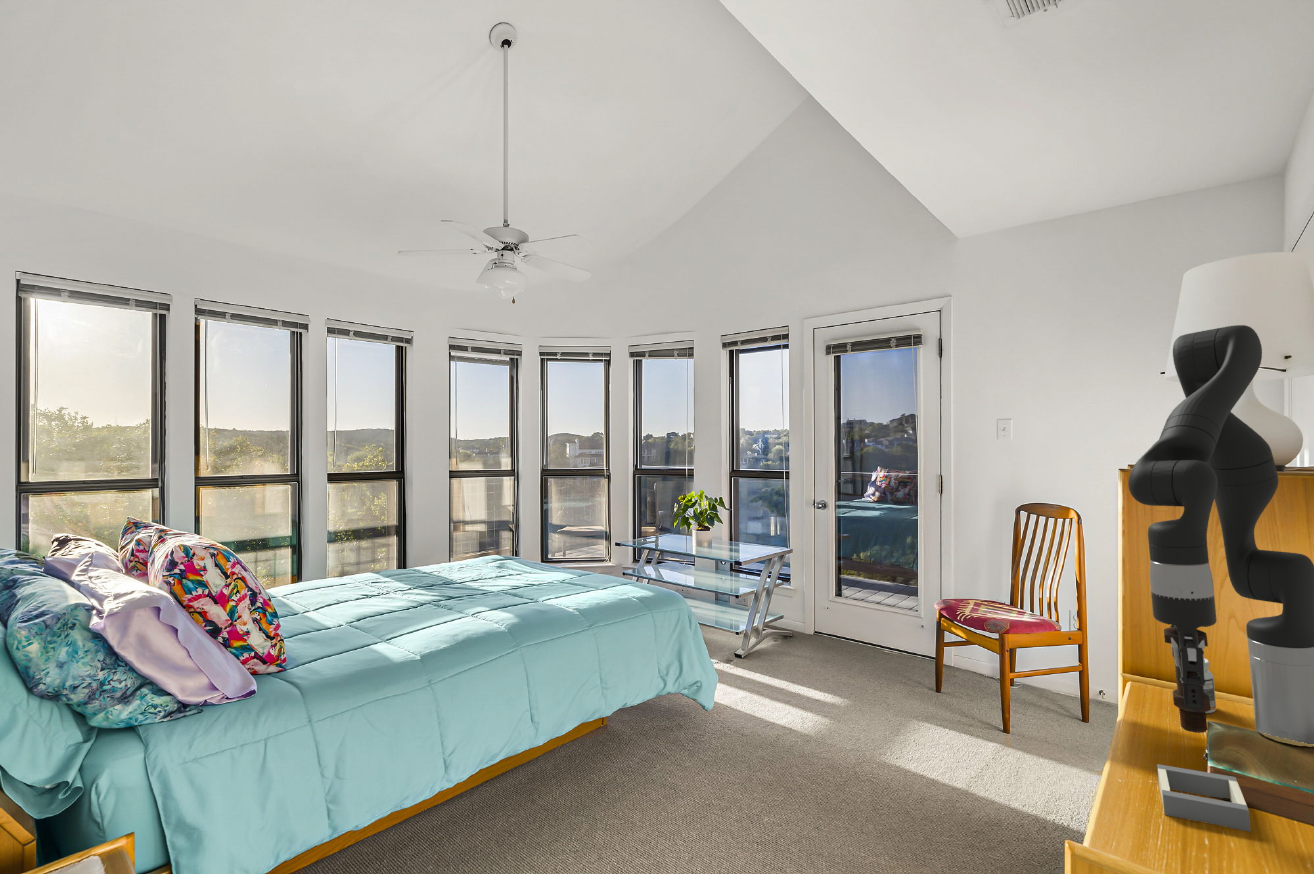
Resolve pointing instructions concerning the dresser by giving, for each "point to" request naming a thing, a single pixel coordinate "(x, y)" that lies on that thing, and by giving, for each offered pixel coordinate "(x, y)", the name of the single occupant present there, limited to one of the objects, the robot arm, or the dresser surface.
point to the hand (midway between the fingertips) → (1191, 701)
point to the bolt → (1188, 717)
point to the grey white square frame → (1201, 807)
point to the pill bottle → (1209, 686)
